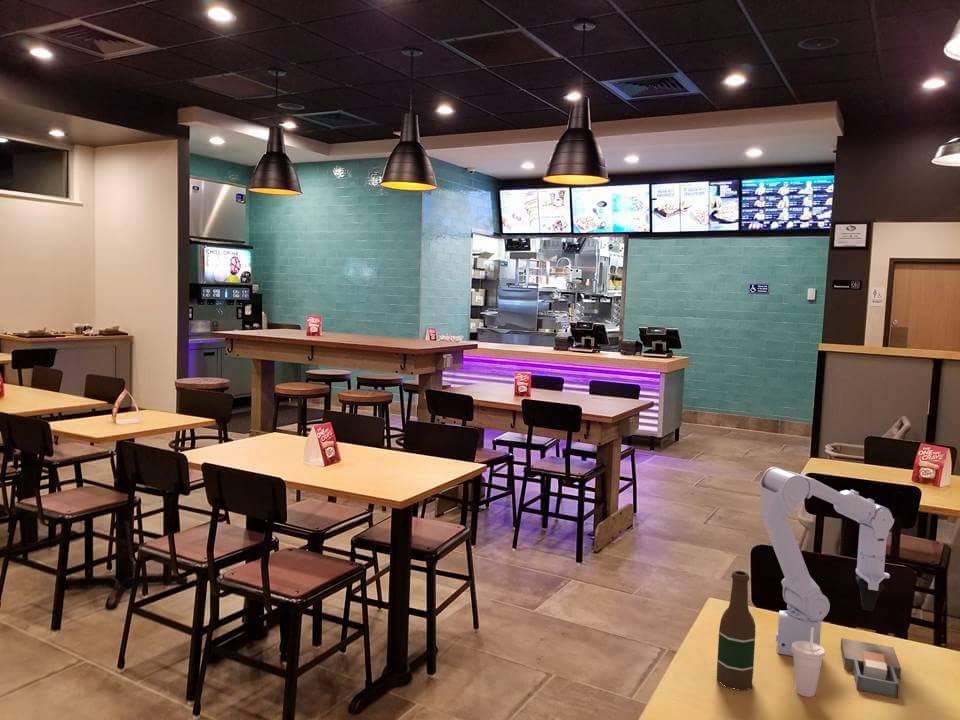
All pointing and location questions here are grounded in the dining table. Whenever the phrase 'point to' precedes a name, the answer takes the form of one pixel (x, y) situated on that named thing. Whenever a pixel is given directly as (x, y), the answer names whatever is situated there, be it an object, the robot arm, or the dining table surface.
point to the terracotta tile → (872, 657)
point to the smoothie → (807, 665)
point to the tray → (876, 682)
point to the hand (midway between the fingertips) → (867, 609)
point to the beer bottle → (737, 638)
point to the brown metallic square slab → (856, 648)
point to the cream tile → (875, 669)
